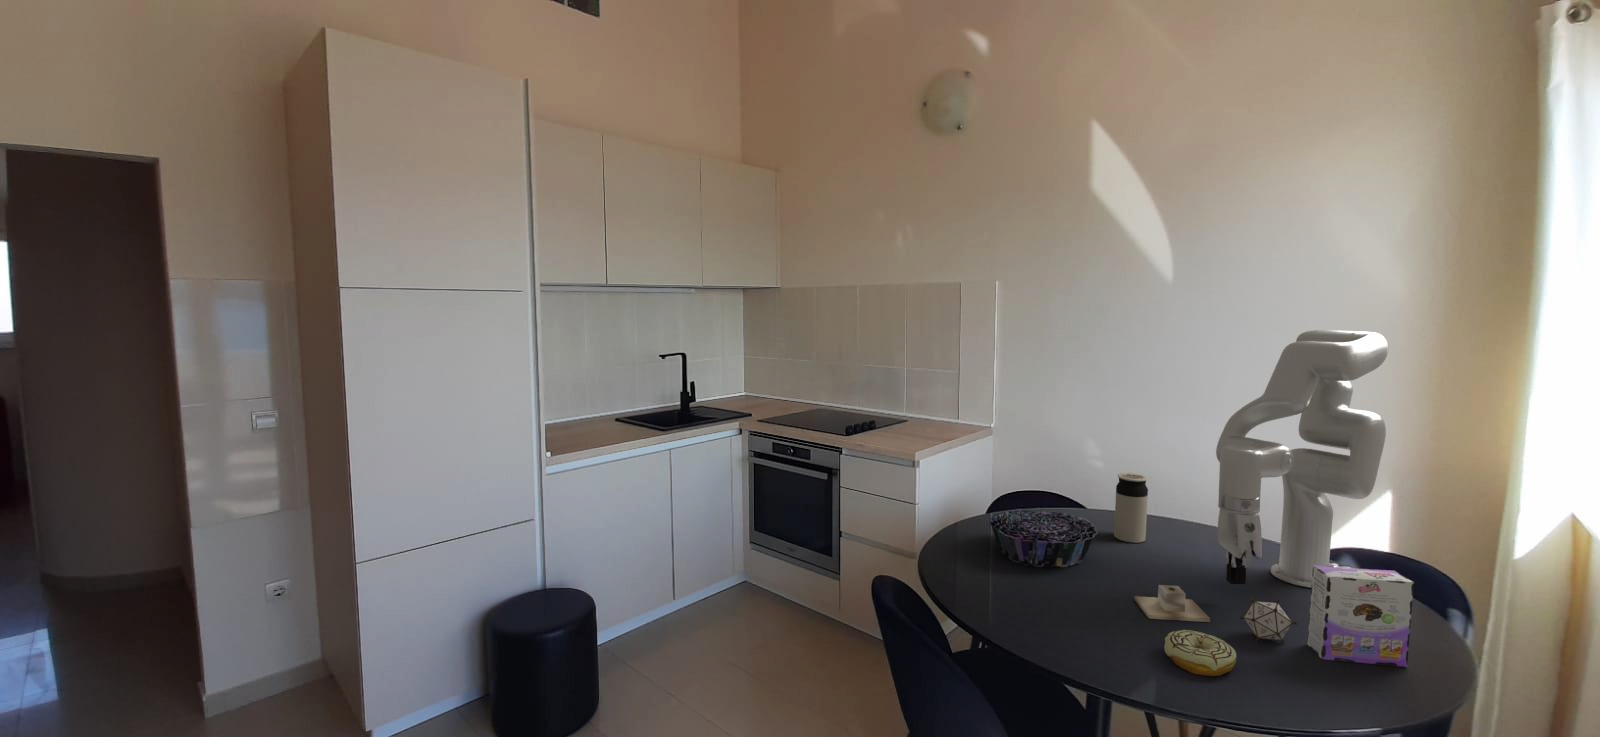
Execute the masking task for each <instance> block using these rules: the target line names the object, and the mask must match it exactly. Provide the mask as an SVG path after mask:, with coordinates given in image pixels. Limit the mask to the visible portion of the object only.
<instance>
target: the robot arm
mask: <svg viewBox="0 0 1600 737" xmlns="http://www.w3.org/2000/svg"><path fill="white" fill-rule="evenodd" d="M1388 352H1389V345H1388V341H1387V339H1386V338H1385V337H1384V335H1382V334H1381V333H1378V332H1373V331H1361V330H1359V331H1357V330H1355V331H1354V330H1335V329H1333V330H1332V329H1329V330H1328V329H1315V330H1308V331H1304V332H1302V333H1301V334H1299V335H1297V337H1296V340H1295V342H1291V343H1289V344H1288V345H1286V346H1285V347H1284V349H1283V350H1282V352H1281V354H1280V356H1279V358H1278V361H1277V363H1276V365H1275V367H1274V370H1273V372H1272V374H1271V376H1270V379H1269V381H1268V383H1267V385H1266V388H1265V390H1264V391H1263V393H1262V395H1260V397H1257V398H1256V399H1254V400H1252V401H1250V402H1249V403H1247V404H1245V405H1244V406H1242V407H1241V408H1239V410H1237V411H1236V412H1235V413H1234V414H1232V415H1231V416H1230V418H1229V419H1228V420H1227V422H1226V423H1225V425H1224V427H1223V430H1222V431H1221V434H1220V437H1219V438H1218V442H1217V446H1216V449H1215V450H1216V451H1215V454H1216V459H1217V461H1218V463H1219V475H1218V477H1219V478H1218V504H1217V505H1218V508H1219V513H1218V521H1217V541H1218V543H1219V545H1220V546H1222V548H1223V550H1224V551H1225V561H1226V575H1225V576H1226V579H1225V580H1226V581H1227V582H1228V583H1229V584H1230V585H1245V584H1246V583H1247V581H1246V580H1247V568H1248V567H1253V566H1254V564H1253V563H1254V562H1253V557H1254V559H1257V560H1259V559H1261V558H1262V556H1263V554H1262V551H1263V550H1262V548H1263V545H1262V544H1263V542H1262V539H1263V538H1262V536H1263V535H1262V525H1261V518H1260V517H1261V516H1260V514H1259V513H1260V511H1261V489H1262V488H1261V485H1262V478H1265V479H1266V478H1277V477H1278V478H1279V477H1281V478H1282V486H1283V505H1282V507H1283V508H1282V516H1281V517H1282V519H1281V529H1280V530H1281V533H1280V544H1279V545H1280V546H1279V549H1280V550H1279V560H1278V563H1276V564H1272V566H1270V574H1272V576H1274V577H1275V578H1277V579H1279V580H1281V581H1283V582H1286V583H1289V584H1292V585H1294V586H1300V587H1303V588H1308V589H1309V588H1310V589H1311V587H1312V574H1313V565H1315V566H1328V567H1343V568H1351V566H1339V564H1338V563H1331V562H1330V556H1331V544H1332V543H1331V542H1332V530H1333V521H1334V520H1333V518H1334V510H1333V506H1332V504H1331V502H1330V500H1329V499H1328V497H1327V495H1326V494H1328V495H1333V496H1338V497H1341V498H1342V497H1343V498H1347V499H1353V500H1364V499H1366V498H1367V497H1368V496H1370V494H1371V493H1372V492H1373V489H1374V486H1375V483H1376V481H1377V476H1378V471H1379V468H1380V464H1381V458H1382V455H1383V450H1384V446H1385V442H1386V436H1387V435H1386V434H1387V430H1386V424H1385V421H1384V419H1383V417H1381V415H1379V413H1376V412H1374V411H1370V410H1364V409H1357V408H1350V407H1351V401H1352V397H1353V393H1354V391H1353V390H1354V388H1353V385H1352V383H1351V382H1352V381H1355V380H1357V379H1359V378H1361V377H1363V376H1366V375H1368V374H1370V373H1372V372H1373V371H1375V370H1376V369H1378V368H1379V367H1380V366H1382V364H1384V363H1385V360H1386V359H1387V357H1388ZM1296 415H1300V419H1299V422H1298V423H1299V424H1298V434H1299V437H1300V438H1301V439H1302V440H1303V441H1305V442H1307V443H1311V444H1314V445H1319V446H1324V447H1330V448H1335V449H1342V450H1348V451H1349V452H1350V453H1349V455H1348V454H1347V455H1346V454H1342V453H1337V452H1336V453H1335V452H1331V451H1325V450H1319V449H1313V448H1302V447H1301V448H1300V447H1298V448H1293V449H1290V447H1288V446H1287V445H1284V444H1282V443H1280V442H1275V441H1268V440H1262V439H1258V438H1252V437H1246V436H1247V434H1248V433H1249V432H1251V430H1252V429H1254V428H1256V427H1257V426H1259V425H1262V424H1264V423H1268V422H1271V421H1275V420H1280V419H1285V418H1288V417H1294V416H1296Z"/></svg>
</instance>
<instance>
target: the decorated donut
mask: <svg viewBox="0 0 1600 737" xmlns="http://www.w3.org/2000/svg"><path fill="white" fill-rule="evenodd" d="M1164 642H1165V643H1164V647H1163V648H1164V653H1165V654H1166V656H1168V657H1169V658H1170V659H1171V661H1173V663H1174V664H1175V665H1177V666H1178V667H1179V668H1181V669H1183V670H1185V671H1187V672H1189V673H1191V674H1194V675H1199V676H1207V677H1208V676H1209V677H1215V676H1217V677H1220V676H1222V675H1225V674H1226V673H1229V672H1231V671H1232V670H1233V669H1234V667H1235V664H1236V662H1237V651H1236V650H1235V649H1234V647H1232V646H1231V645H1230V644H1229V643H1227V641H1225V640H1223V639H1221V638H1218V637H1217V636H1214V635H1212V634H1207V633H1204V632H1200V631H1196V630H1190V629H1181V630H1174V631H1170V632H1169V633H1168V634H1167V636H1165V638H1164Z"/></svg>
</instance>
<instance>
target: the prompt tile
mask: <svg viewBox="0 0 1600 737" xmlns="http://www.w3.org/2000/svg"><path fill="white" fill-rule="evenodd" d="M1133 599H1134V601H1135V603H1137V605H1138V607H1139V608H1140V609H1141V611H1143V613H1144V614H1145V615H1146V617H1147V618H1148V619H1152V620H1153V619H1154V620H1165V621H1168V620H1169V621H1183V622H1185V621H1187V622H1203V623H1211V617H1209V616H1208V615H1207V613H1205V611H1203V609H1202V608H1201V607H1200V606H1199V605H1198V604H1197V603H1196V602H1195V601H1194V600H1193V599H1192V598H1186V592H1185V591H1184V590H1183V589H1181V587H1180V586H1179V585H1171V584H1169V585H1166V584H1158V590H1157V597H1154V596H1150V597H1149V596H1140V595H1139V596H1138V595H1136V596H1134V598H1133Z"/></svg>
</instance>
